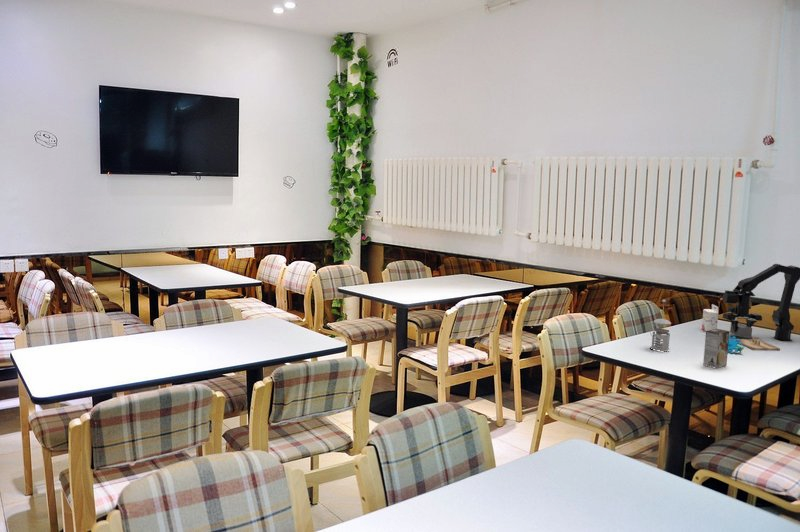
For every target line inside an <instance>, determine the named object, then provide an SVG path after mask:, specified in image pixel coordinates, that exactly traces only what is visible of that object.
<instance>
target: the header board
mask: <svg viewBox="0 0 800 532" xmlns="http://www.w3.org/2000/svg"><path fill="white" fill-rule="evenodd" d="M736 339H737V338H736ZM736 339H733V340H736ZM739 340H740V341H739V342H741V343H742V345H741V346H743V347H745V348H747V349H748V350H751V351H778V352H779V351H781V348H779V347H777V346H774V345H773V344H770V343H768V342H765V341H764V340H761V339H759V338H755V337H752V338H751V339H750V338H746V339H745V338H739ZM736 342H738V341H736Z"/></svg>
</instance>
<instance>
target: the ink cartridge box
mask: <svg viewBox="0 0 800 532" xmlns="http://www.w3.org/2000/svg"><path fill="white" fill-rule="evenodd" d="M702 311H703V312H702V322H701V330H702V331H703V332H704V331H705V332H706V331H708V330H712V329H718V319H719V306H717V305H715V304H713V303H712V304H711V309H710V308H704V309H703V310H702Z"/></svg>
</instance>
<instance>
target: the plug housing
mask: <svg viewBox="0 0 800 532" xmlns="http://www.w3.org/2000/svg"><path fill="white" fill-rule="evenodd" d="M729 329H730V330H729V331H730V333H729V334H732V335H734V336H736V337H739V338H752V333H753V327H749V326H746V324H743V323H738V326H737V331H736V333H735V332H734V330H733V326H732V323H731V322H730V328H729Z"/></svg>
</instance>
